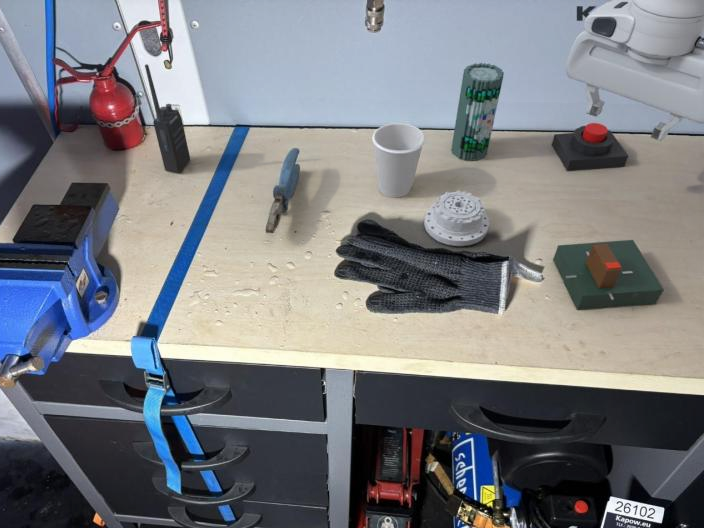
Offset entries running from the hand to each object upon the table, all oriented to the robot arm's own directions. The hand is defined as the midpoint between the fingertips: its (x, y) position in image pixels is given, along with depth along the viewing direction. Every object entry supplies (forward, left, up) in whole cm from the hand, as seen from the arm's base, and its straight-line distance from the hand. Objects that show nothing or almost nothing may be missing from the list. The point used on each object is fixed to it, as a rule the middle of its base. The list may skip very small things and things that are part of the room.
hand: (624, 125), depth 85 cm
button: (-5, -15, -12) cm, 20 cm away
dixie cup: (+30, -10, -16) cm, 35 cm away
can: (+15, -19, -16) cm, 29 cm away
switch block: (-5, -15, -16) cm, 22 cm away
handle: (+6, +17, -13) cm, 22 cm away
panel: (+4, +15, -16) cm, 22 cm away
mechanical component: (+22, +1, -16) cm, 27 cm away
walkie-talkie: (+68, -21, -16) cm, 73 cm away
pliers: (+49, -7, -16) cm, 52 cm away
